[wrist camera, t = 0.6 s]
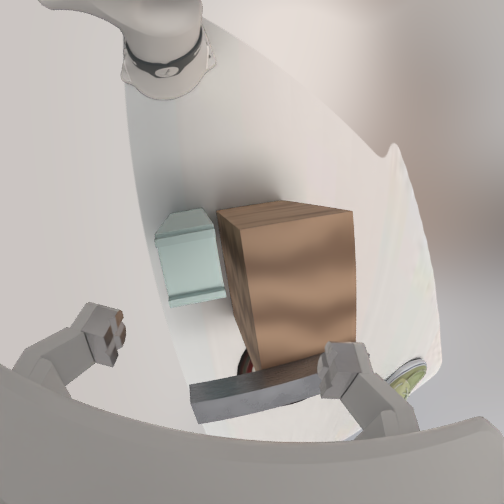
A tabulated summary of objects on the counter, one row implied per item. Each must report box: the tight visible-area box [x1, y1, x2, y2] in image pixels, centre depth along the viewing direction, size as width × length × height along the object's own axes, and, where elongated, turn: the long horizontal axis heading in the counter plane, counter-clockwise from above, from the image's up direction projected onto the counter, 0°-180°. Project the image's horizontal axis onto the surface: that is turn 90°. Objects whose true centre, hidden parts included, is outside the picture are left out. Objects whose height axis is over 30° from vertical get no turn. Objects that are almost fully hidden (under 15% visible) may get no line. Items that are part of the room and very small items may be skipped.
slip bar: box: [189, 352, 370, 424], centre depth 32 cm, size 4×22×4 cm, turn 98°
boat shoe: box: [386, 359, 427, 400], centre depth 72 cm, size 10×29×9 cm, turn 116°
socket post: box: [154, 208, 226, 308], centre depth 41 cm, size 8×6×26 cm
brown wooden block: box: [216, 200, 356, 371], centre depth 45 cm, size 22×13×26 cm, turn 8°
